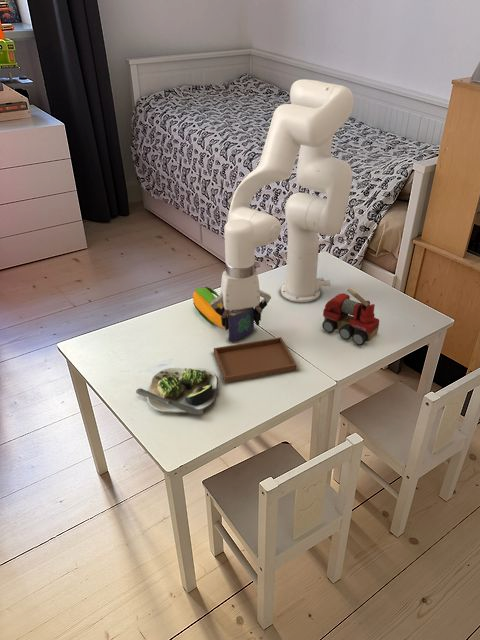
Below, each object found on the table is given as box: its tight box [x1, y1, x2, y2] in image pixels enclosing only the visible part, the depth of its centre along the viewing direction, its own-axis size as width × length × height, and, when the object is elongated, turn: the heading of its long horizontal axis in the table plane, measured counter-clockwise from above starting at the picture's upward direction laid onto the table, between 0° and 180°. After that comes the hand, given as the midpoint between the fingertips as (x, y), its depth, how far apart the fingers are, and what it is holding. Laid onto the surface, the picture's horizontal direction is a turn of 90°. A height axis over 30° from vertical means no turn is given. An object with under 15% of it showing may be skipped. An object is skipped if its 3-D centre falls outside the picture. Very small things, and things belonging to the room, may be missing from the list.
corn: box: [192, 286, 228, 329], centre depth 157 cm, size 7×8×20 cm
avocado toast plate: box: [135, 367, 219, 416], centre depth 131 cm, size 19×18×5 cm
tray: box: [213, 336, 298, 384], centre depth 143 cm, size 19×13×2 cm
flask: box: [228, 307, 255, 344], centre depth 150 cm, size 9×3×11 cm, turn 138°
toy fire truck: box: [321, 287, 380, 347], centre depth 150 cm, size 11×16×18 cm
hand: (241, 324), depth 151 cm, fingers closed on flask, 8 cm apart
